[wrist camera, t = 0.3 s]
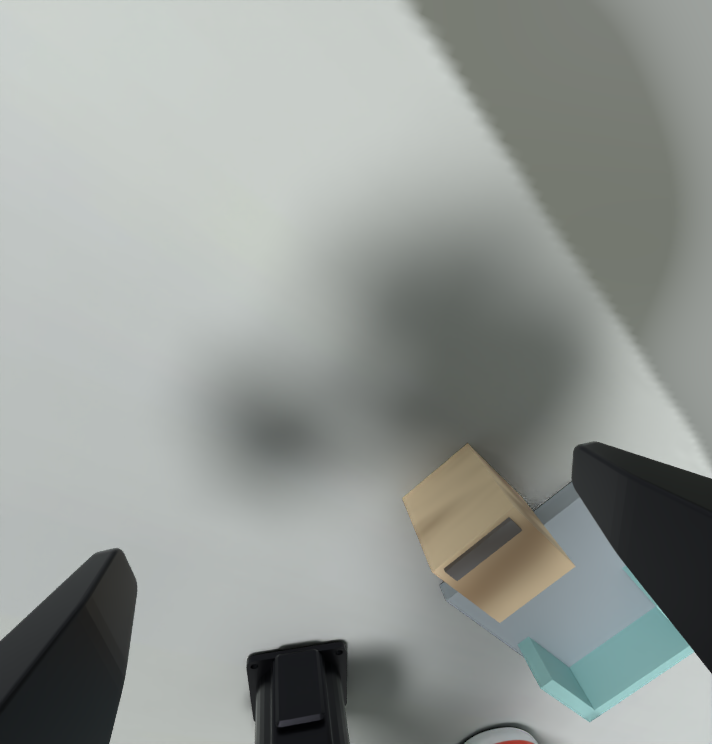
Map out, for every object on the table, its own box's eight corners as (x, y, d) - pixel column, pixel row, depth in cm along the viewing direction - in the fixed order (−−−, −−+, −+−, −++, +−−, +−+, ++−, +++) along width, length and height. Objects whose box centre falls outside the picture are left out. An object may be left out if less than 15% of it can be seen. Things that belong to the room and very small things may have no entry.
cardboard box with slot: (521, 496, 28) (577, 569, 23) (460, 545, 29) (501, 626, 24) (467, 442, 26) (516, 509, 20) (401, 497, 26) (433, 575, 21)
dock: (666, 585, 34) (716, 637, 30) (550, 667, 36) (584, 726, 32) (573, 480, 28) (620, 528, 24) (439, 585, 30) (464, 645, 26)
